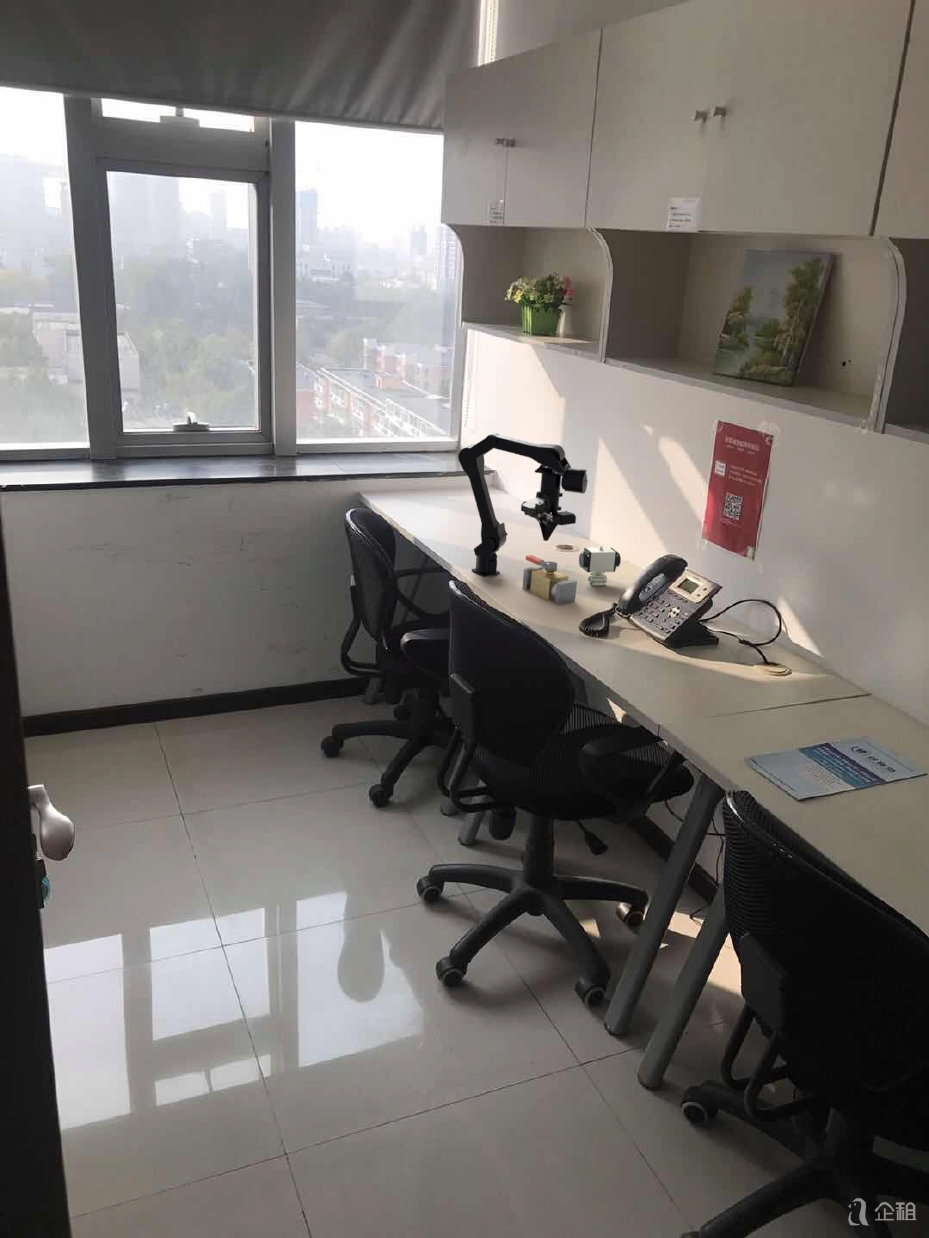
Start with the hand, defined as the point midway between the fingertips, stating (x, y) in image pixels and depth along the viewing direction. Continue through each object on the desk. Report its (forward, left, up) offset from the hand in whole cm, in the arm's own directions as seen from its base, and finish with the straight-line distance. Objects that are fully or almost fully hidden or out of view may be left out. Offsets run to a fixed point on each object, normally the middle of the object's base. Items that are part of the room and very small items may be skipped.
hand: (545, 540), depth 291 cm
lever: (+6, -6, -5) cm, 10 cm away
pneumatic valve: (+9, +14, -13) cm, 21 cm away
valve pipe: (+10, -6, -13) cm, 17 cm away
